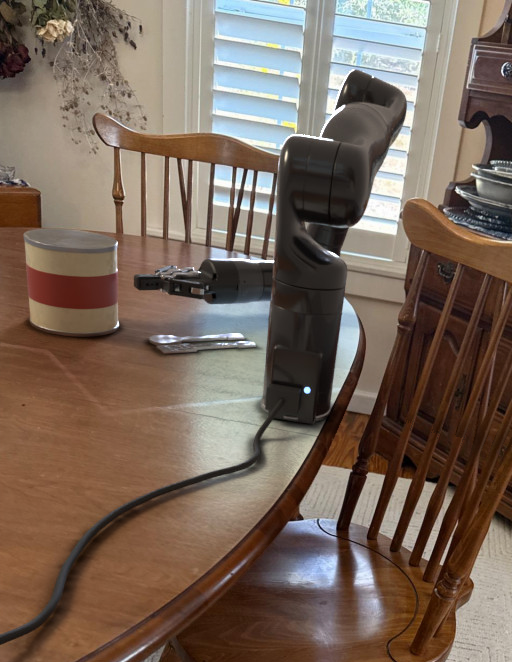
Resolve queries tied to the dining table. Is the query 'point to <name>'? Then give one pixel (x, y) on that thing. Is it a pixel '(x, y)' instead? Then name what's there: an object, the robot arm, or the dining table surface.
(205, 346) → the fork
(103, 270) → the coffee tin
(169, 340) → the spoon
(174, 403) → the dining table surface
